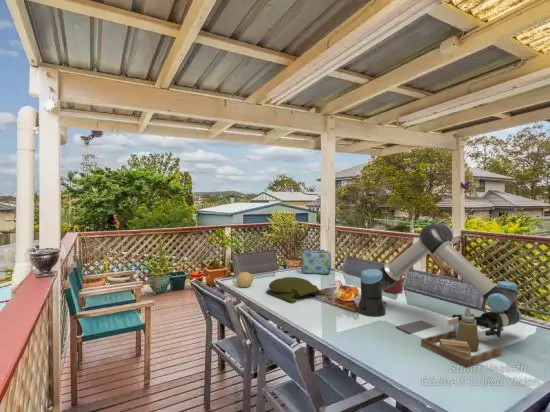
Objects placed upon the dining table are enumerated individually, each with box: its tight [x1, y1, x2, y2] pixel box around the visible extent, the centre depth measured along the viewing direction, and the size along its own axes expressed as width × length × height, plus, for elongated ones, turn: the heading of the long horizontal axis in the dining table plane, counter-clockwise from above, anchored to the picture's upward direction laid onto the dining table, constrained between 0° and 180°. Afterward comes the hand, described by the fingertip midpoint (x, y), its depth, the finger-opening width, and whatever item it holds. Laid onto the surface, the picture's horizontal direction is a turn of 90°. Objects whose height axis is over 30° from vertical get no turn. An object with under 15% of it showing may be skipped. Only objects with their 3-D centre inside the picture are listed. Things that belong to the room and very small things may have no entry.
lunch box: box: [300, 249, 332, 275], centre depth 278 cm, size 26×11×21 cm, turn 81°
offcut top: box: [439, 339, 470, 351], centre depth 131 cm, size 4×10×2 cm, turn 73°
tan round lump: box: [236, 271, 254, 288], centre depth 238 cm, size 12×12×11 cm
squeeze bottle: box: [456, 307, 480, 352], centre depth 134 cm, size 8×8×18 cm
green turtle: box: [266, 276, 326, 304], centre depth 220 cm, size 35×31×10 cm
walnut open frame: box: [420, 329, 502, 368], centre depth 132 cm, size 22×20×4 cm
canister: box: [383, 274, 404, 294], centre depth 223 cm, size 13×13×18 cm
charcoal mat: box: [395, 319, 437, 335], centre depth 154 cm, size 18×18×1 cm
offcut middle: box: [437, 342, 472, 358], centre depth 131 cm, size 5×11×2 cm, turn 51°
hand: (462, 328), depth 133 cm, fingers open, 13 cm apart
